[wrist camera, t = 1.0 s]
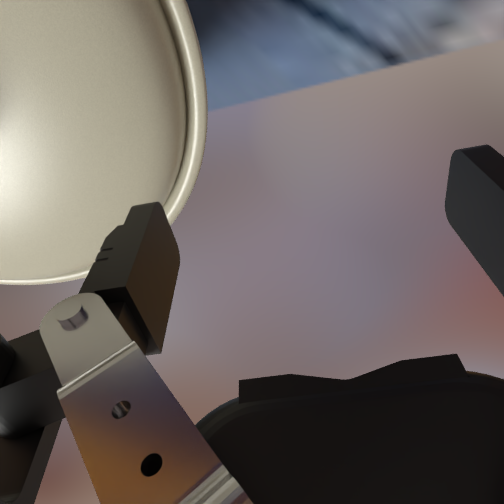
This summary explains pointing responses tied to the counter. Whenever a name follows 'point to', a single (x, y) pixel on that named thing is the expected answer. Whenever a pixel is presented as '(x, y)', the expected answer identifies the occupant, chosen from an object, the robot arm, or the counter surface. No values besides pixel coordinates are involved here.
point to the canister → (92, 126)
